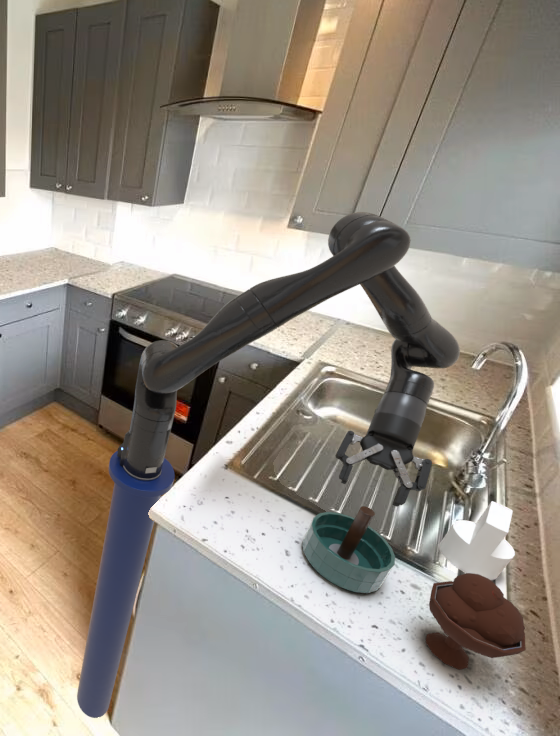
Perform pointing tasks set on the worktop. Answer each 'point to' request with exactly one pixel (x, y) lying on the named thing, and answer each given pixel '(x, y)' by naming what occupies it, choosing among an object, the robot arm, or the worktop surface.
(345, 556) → the brown peg on base
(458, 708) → the worktop surface
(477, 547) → the base with upright slab
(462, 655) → the ice cream bowl
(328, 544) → the mixing bowl
